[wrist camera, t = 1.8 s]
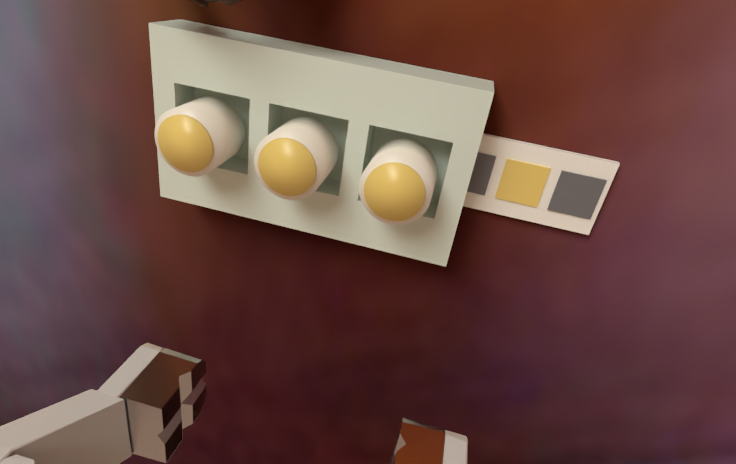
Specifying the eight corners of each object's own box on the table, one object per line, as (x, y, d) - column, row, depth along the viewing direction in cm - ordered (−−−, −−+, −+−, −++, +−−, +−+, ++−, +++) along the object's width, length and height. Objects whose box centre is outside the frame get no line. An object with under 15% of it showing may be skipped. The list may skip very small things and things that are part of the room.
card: (618, 161, 26) (620, 164, 25) (587, 232, 28) (588, 236, 27) (453, 126, 27) (452, 129, 26) (435, 197, 29) (435, 200, 28)
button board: (493, 81, 25) (494, 92, 22) (449, 242, 30) (445, 266, 27) (180, 19, 27) (148, 22, 25) (186, 179, 32) (160, 196, 29)
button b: (342, 124, 25) (324, 141, 22) (334, 185, 27) (317, 208, 24) (278, 110, 26) (253, 125, 23) (274, 171, 27) (251, 192, 25)
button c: (245, 103, 26) (217, 117, 23) (244, 164, 28) (217, 184, 25) (185, 90, 26) (149, 102, 24) (187, 151, 28) (154, 169, 25)
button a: (444, 146, 25) (438, 166, 22) (429, 207, 26) (422, 234, 24) (377, 131, 25) (363, 149, 22) (367, 193, 27) (353, 217, 24)
